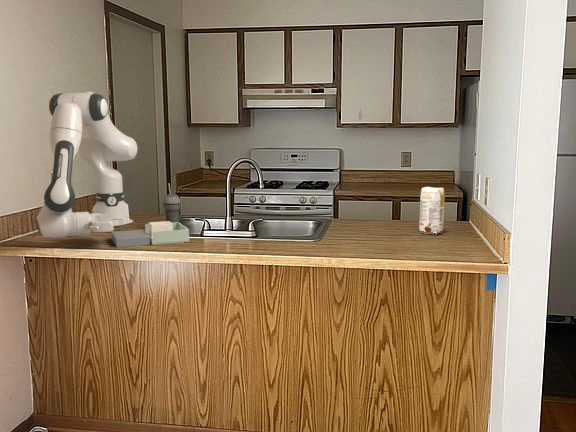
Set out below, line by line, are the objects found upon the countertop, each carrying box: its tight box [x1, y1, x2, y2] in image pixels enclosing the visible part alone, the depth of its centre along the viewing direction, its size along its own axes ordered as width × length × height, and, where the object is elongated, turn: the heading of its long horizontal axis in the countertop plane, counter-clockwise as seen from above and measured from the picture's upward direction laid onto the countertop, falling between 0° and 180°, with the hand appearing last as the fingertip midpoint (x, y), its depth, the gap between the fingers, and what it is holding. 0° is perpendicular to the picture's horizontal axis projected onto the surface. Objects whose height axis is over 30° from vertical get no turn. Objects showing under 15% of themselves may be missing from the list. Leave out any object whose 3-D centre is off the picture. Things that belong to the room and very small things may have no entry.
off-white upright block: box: [148, 220, 173, 238], centre depth 228 cm, size 6×6×8 cm
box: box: [144, 221, 190, 246], centre depth 229 cm, size 18×14×5 cm
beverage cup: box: [162, 183, 182, 223], centre depth 247 cm, size 7×7×20 cm
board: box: [110, 229, 151, 248], centre depth 224 cm, size 16×12×3 cm
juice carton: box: [418, 186, 445, 233], centre depth 240 cm, size 8×9×19 cm
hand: (123, 221), depth 222 cm, fingers closed
